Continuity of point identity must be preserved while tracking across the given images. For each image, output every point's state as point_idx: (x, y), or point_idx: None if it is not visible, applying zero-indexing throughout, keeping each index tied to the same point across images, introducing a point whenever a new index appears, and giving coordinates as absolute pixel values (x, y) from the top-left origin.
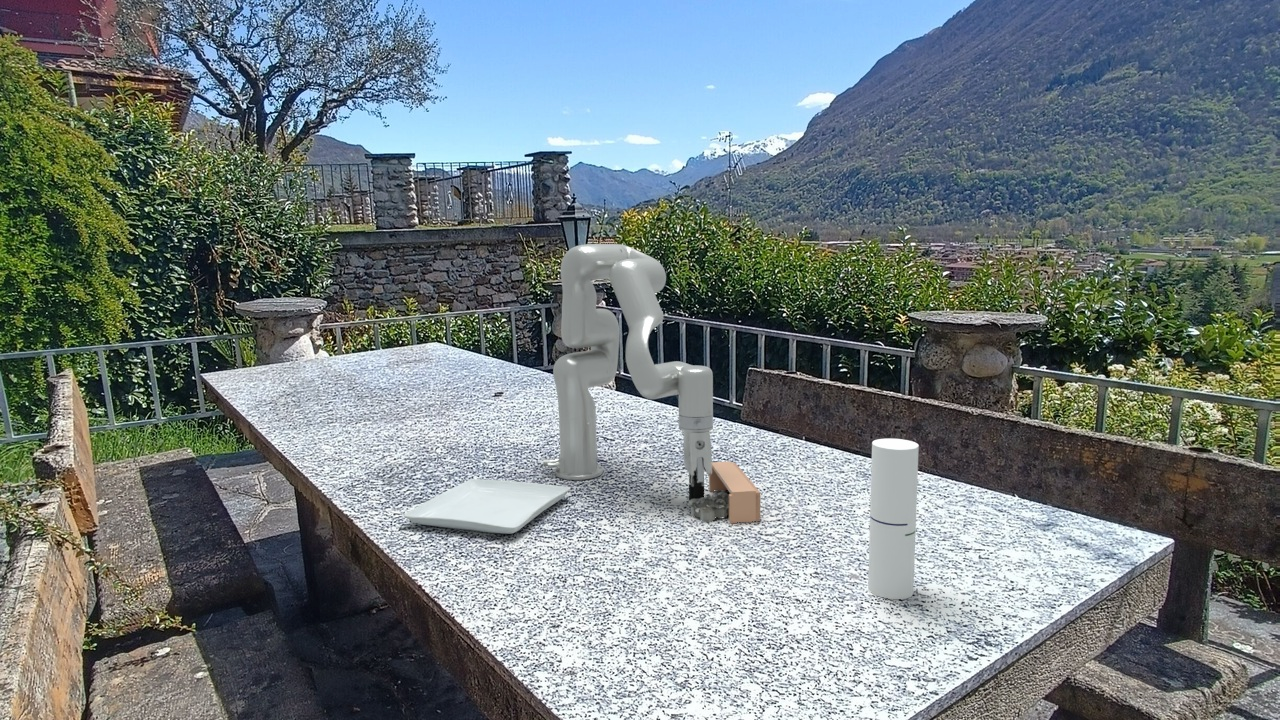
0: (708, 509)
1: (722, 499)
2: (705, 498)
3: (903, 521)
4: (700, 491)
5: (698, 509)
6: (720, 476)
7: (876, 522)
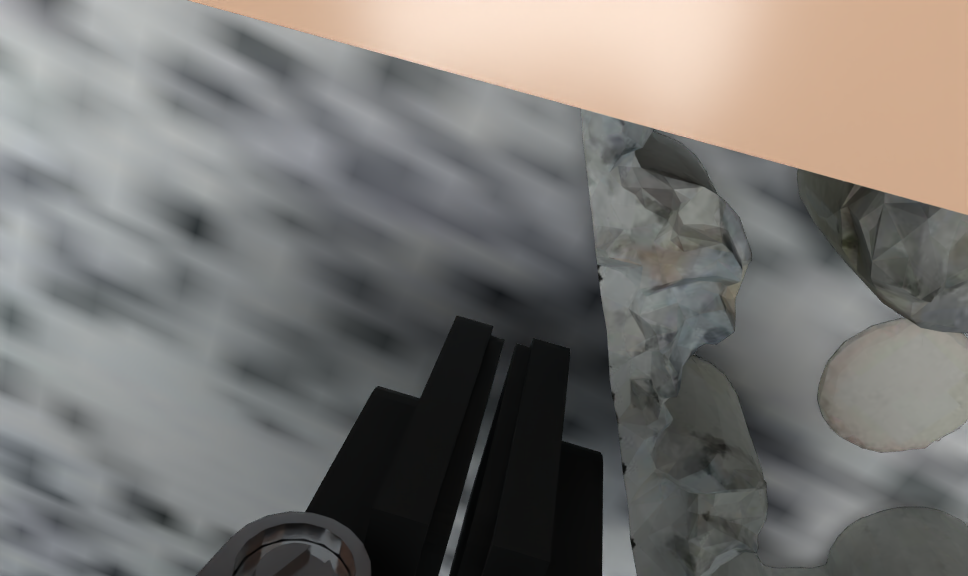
0: None
1: None
2: (658, 416)
3: None
4: (593, 567)
5: None
6: (514, 82)
7: None
